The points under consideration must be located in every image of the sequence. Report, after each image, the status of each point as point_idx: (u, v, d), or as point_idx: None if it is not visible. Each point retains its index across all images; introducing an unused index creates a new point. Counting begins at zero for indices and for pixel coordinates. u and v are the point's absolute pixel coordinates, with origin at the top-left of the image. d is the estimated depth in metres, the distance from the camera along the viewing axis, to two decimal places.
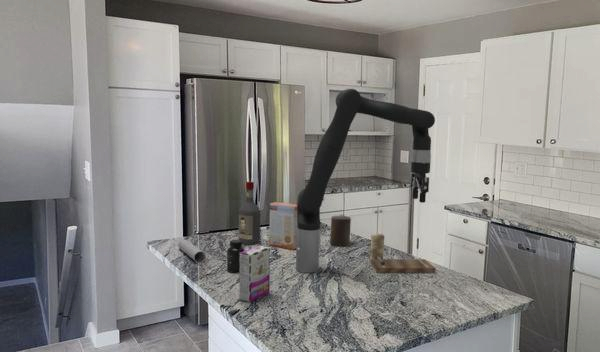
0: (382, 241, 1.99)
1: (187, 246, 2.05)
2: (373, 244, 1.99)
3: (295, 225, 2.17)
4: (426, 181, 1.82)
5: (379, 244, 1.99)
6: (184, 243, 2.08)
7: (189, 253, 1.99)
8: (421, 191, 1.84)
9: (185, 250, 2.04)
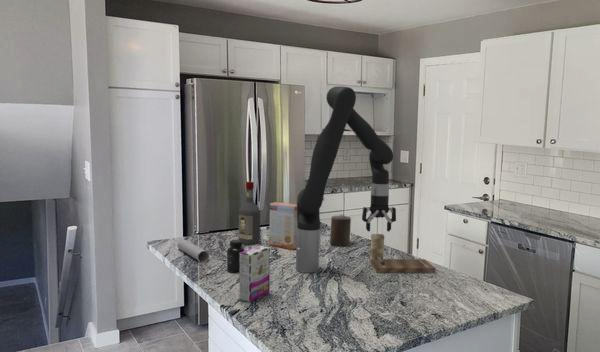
0: (382, 241, 1.99)
1: (188, 246, 2.05)
2: (373, 244, 1.99)
3: (295, 225, 2.17)
4: None
5: (379, 244, 1.99)
6: (184, 243, 2.08)
7: (191, 253, 1.99)
8: (391, 221, 1.98)
9: (186, 250, 2.04)
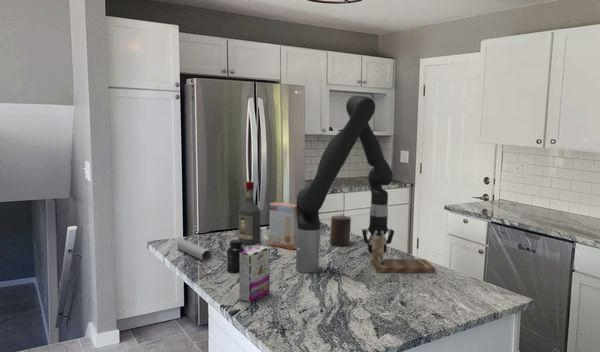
0: (382, 241, 1.99)
1: (189, 246, 2.05)
2: (373, 244, 1.99)
3: (295, 225, 2.17)
4: None
5: (379, 244, 1.99)
6: (185, 243, 2.08)
7: (194, 253, 2.00)
8: (386, 243, 2.00)
9: (188, 250, 2.04)
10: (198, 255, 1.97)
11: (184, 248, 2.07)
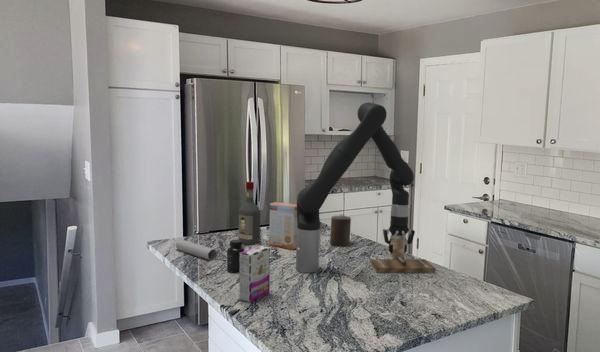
0: (403, 241, 2.00)
1: (191, 245, 2.05)
2: (394, 244, 1.99)
3: (295, 225, 2.17)
4: None
5: (400, 244, 2.00)
6: (185, 243, 2.08)
7: (198, 252, 2.01)
8: (407, 243, 2.00)
9: (190, 250, 2.04)
10: (203, 254, 1.98)
11: (185, 248, 2.07)
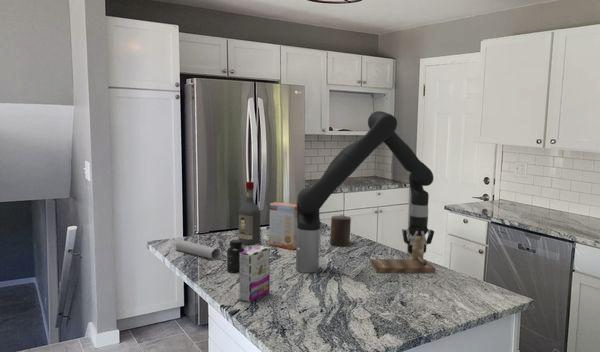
0: (423, 241, 2.00)
1: (192, 245, 2.05)
2: (413, 244, 2.00)
3: (295, 225, 2.17)
4: None
5: (420, 244, 2.00)
6: (185, 243, 2.08)
7: (200, 252, 2.01)
8: (426, 244, 2.01)
9: (191, 250, 2.05)
10: (206, 254, 1.99)
11: (186, 248, 2.07)
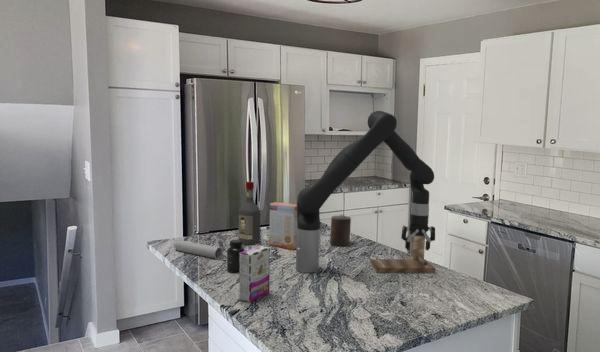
0: (423, 241, 2.00)
1: (193, 245, 2.06)
2: (414, 244, 2.00)
3: (295, 225, 2.17)
4: None
5: (420, 244, 2.00)
6: (186, 243, 2.08)
7: (203, 251, 2.02)
8: (430, 240, 2.01)
9: (193, 249, 2.05)
10: (209, 253, 2.00)
11: (187, 248, 2.07)
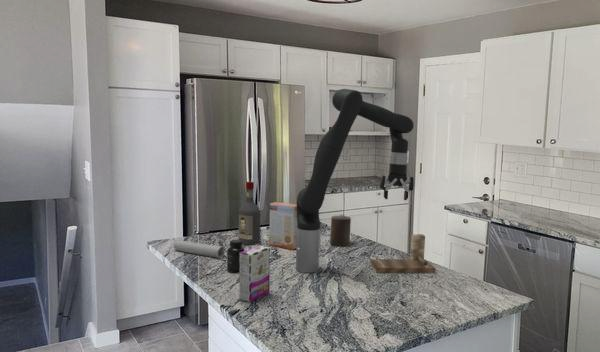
0: (423, 241, 2.00)
1: (194, 245, 2.06)
2: (414, 244, 2.00)
3: (295, 225, 2.17)
4: None
5: (420, 244, 2.00)
6: (186, 243, 2.08)
7: (204, 251, 2.03)
8: (409, 190, 2.03)
9: (194, 249, 2.05)
10: (211, 252, 2.01)
11: (187, 248, 2.07)
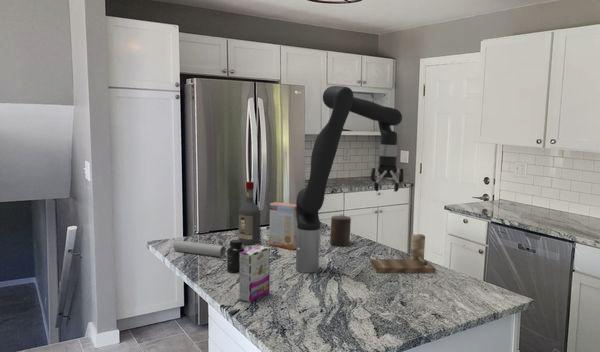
0: (423, 241, 2.00)
1: (195, 245, 2.06)
2: (414, 244, 2.00)
3: (295, 225, 2.17)
4: None
5: (420, 244, 2.00)
6: (186, 243, 2.08)
7: (206, 250, 2.03)
8: (399, 181, 2.05)
9: (195, 249, 2.05)
10: (213, 252, 2.02)
11: (188, 248, 2.07)
